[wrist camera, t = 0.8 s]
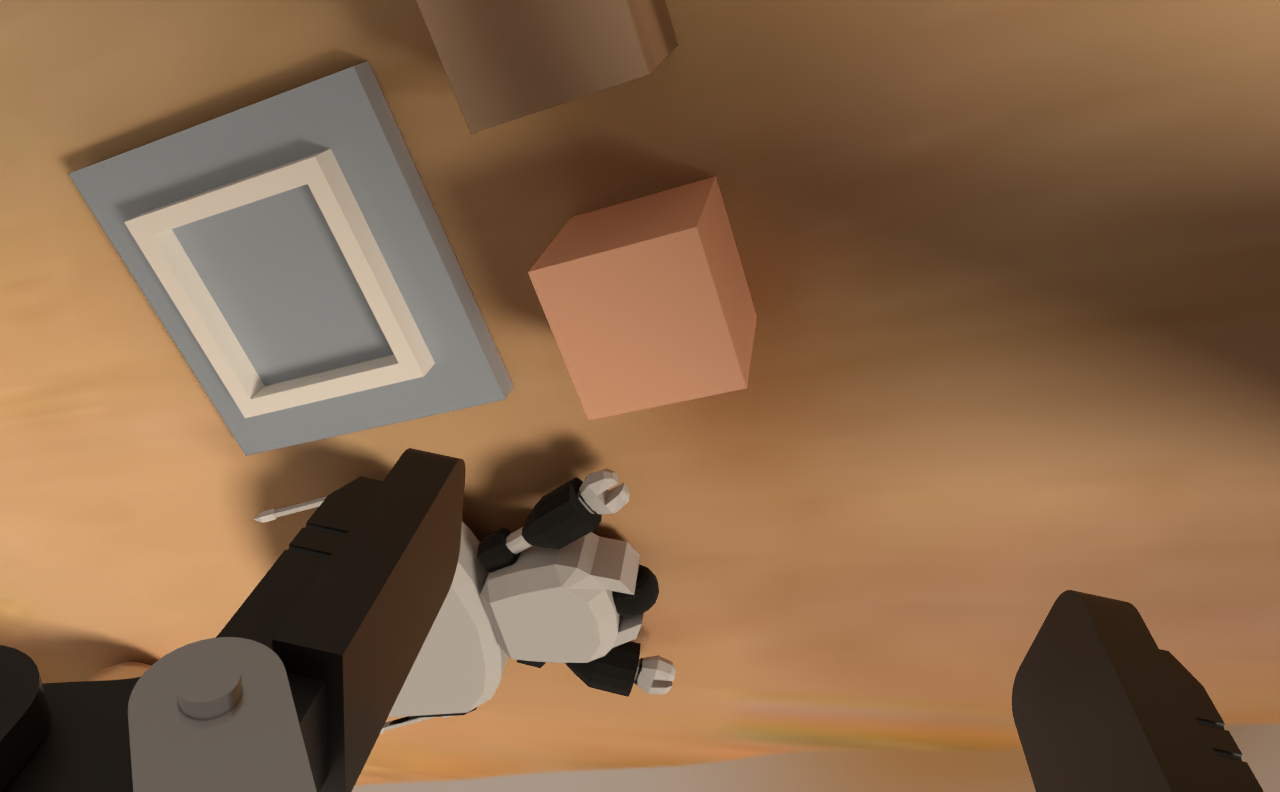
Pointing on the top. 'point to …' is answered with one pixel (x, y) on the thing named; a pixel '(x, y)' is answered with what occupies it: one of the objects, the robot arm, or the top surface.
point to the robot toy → (535, 606)
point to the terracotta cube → (649, 301)
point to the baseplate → (300, 266)
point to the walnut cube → (542, 50)
